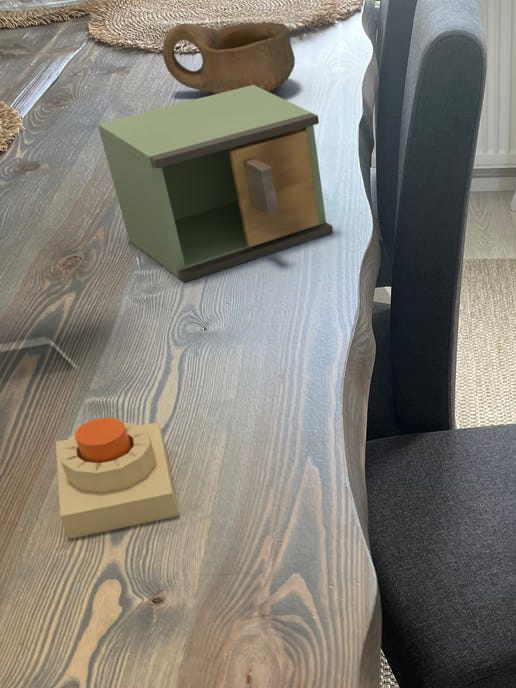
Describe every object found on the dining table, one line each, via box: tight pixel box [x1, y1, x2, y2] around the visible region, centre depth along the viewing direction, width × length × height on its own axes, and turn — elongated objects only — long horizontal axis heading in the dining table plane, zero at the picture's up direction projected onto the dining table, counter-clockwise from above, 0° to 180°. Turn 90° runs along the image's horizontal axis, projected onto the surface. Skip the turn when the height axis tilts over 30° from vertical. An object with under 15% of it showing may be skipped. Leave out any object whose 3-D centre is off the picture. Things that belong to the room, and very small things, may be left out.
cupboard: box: [97, 85, 334, 283], centre depth 106 cm, size 18×13×12 cm
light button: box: [74, 417, 131, 463], centre depth 75 cm, size 4×4×2 cm
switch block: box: [55, 421, 180, 540], centre depth 76 cm, size 10×8×4 cm
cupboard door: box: [229, 130, 319, 247], centre depth 103 cm, size 9×4×10 cm, turn 128°
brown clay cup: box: [162, 22, 296, 95], centre depth 141 cm, size 18×14×10 cm
